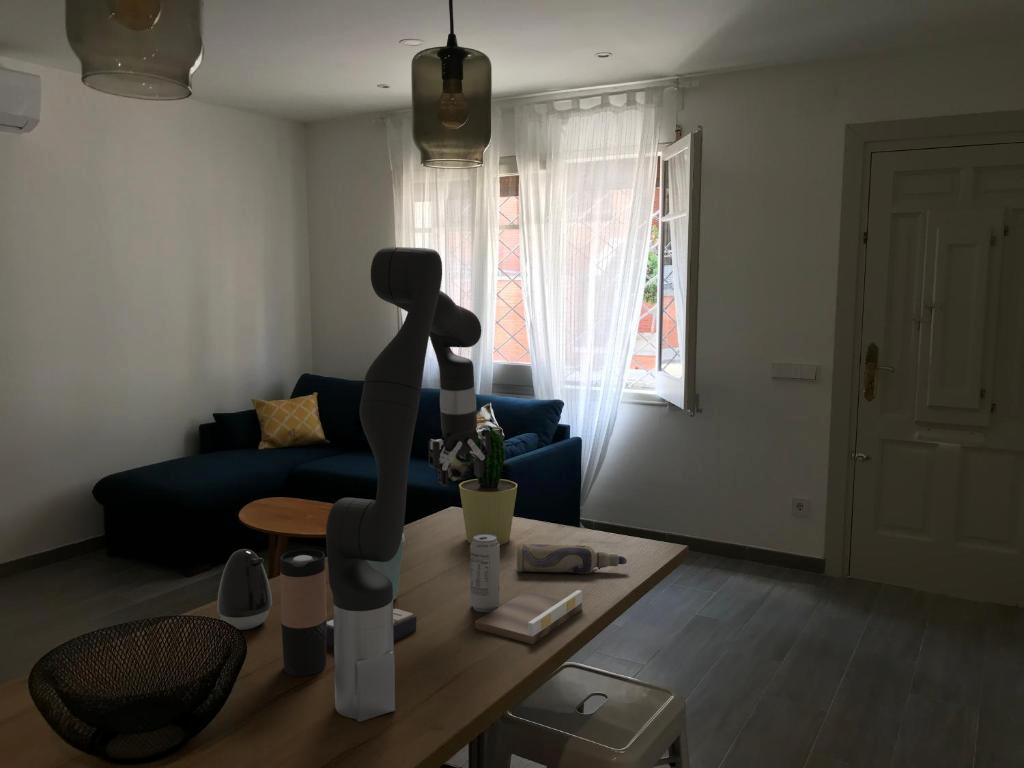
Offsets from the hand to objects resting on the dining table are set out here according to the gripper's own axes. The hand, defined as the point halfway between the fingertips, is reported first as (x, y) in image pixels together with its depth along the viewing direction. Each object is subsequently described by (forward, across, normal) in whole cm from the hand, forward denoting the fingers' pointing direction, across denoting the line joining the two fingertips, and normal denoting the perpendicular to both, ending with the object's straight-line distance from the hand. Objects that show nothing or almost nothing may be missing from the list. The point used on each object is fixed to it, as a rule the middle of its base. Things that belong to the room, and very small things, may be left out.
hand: (461, 480), depth 174 cm
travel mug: (+20, -43, -16) cm, 50 cm away
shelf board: (+24, +2, -21) cm, 32 cm away
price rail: (+22, +4, -27) cm, 35 cm away
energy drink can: (+24, -3, -11) cm, 27 cm away
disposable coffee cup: (+24, -18, +6) cm, 31 cm away
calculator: (+22, -28, -10) cm, 37 cm away
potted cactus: (+31, +24, +27) cm, 47 cm away
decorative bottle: (+28, +25, -5) cm, 38 cm away
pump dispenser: (+22, -46, +8) cm, 51 cm away
